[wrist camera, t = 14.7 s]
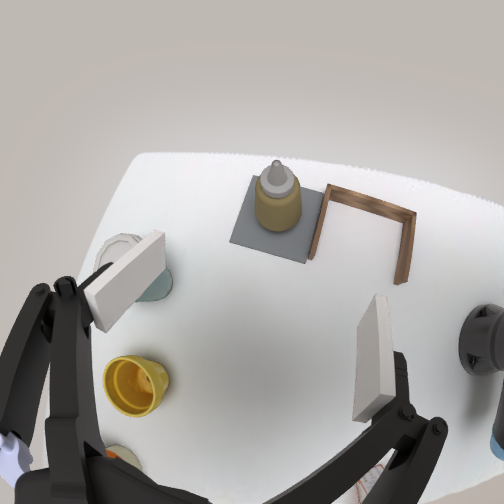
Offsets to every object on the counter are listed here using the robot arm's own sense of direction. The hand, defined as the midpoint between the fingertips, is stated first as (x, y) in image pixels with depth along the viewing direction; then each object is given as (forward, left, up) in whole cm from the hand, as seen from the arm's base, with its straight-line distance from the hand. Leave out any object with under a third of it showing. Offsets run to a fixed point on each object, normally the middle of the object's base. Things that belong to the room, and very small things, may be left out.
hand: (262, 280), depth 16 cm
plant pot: (+17, +20, -32) cm, 41 cm away
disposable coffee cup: (+22, +2, -32) cm, 39 cm away
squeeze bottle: (+4, -16, -31) cm, 35 cm away
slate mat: (+4, -16, -32) cm, 35 cm away
